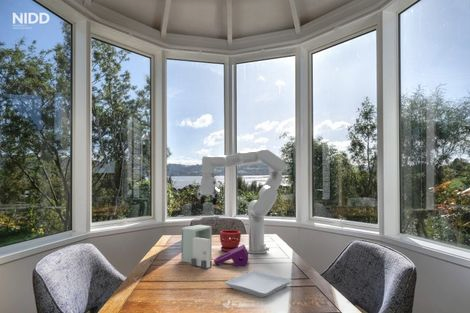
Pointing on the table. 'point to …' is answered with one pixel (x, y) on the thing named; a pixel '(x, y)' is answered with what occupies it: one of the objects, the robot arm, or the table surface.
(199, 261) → the door
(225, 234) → the plant pot
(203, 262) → the hinge clips
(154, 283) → the table surface
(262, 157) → the robot arm
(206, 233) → the cabinet
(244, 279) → the salad plate
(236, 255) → the mounting bracket
